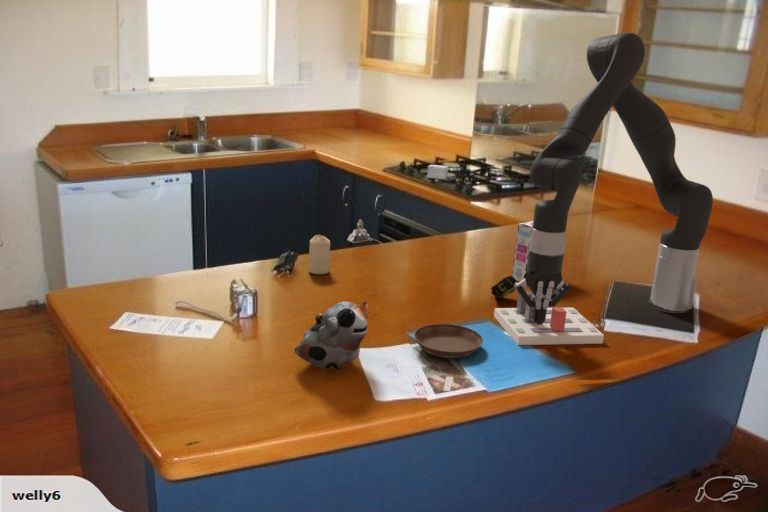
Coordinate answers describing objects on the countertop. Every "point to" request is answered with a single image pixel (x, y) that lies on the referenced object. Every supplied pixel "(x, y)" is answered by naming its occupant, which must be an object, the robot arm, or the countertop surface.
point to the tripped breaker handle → (558, 319)
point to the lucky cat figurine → (335, 336)
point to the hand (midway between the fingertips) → (537, 323)
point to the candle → (319, 255)
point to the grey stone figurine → (359, 234)
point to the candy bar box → (522, 250)
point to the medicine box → (437, 171)
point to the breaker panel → (546, 326)
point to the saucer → (448, 340)
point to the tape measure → (504, 287)
